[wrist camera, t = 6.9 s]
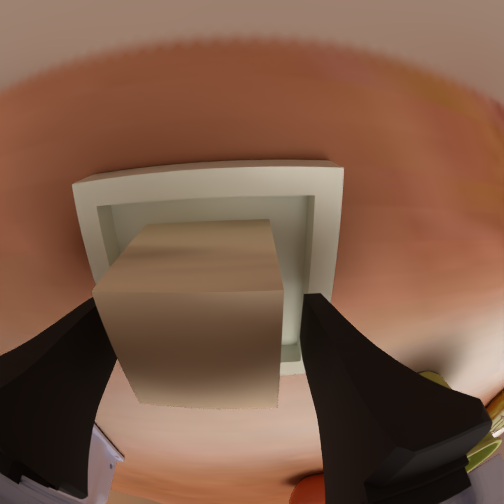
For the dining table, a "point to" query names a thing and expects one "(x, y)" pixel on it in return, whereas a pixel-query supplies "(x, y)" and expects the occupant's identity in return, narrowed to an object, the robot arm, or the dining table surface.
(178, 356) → the maple block
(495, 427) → the decorated donut
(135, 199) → the tray
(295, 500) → the tomato
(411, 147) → the dining table surface
